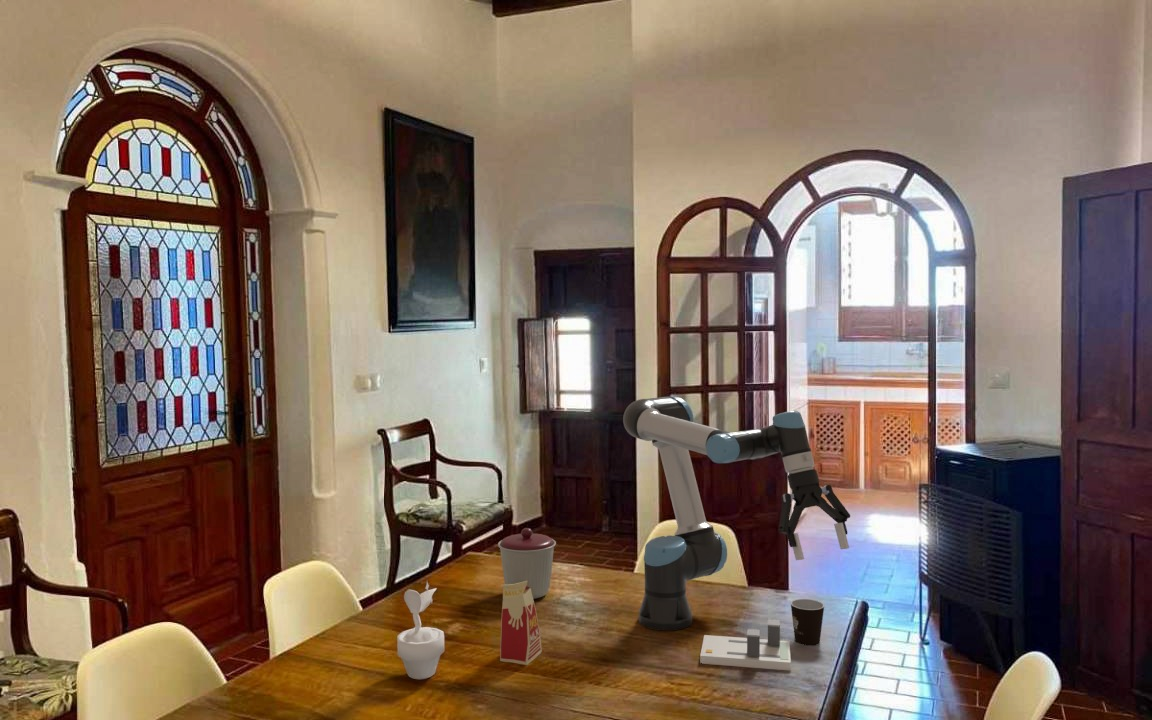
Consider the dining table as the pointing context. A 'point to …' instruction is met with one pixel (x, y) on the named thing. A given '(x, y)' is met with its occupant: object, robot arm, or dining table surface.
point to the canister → (528, 560)
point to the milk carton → (519, 625)
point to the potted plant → (420, 639)
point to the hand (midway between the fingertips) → (822, 554)
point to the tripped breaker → (753, 642)
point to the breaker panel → (744, 653)
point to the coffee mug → (807, 621)
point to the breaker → (773, 632)
